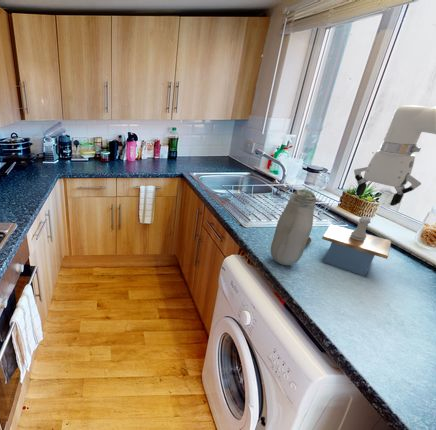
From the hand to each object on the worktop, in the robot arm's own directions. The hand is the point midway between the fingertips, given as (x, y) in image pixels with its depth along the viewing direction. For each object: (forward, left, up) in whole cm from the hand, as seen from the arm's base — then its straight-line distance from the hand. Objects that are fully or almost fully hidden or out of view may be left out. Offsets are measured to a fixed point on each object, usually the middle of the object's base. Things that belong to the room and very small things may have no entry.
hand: (375, 199), depth 96 cm
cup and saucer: (+19, +3, -25) cm, 32 cm away
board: (0, 0, -16) cm, 16 cm away
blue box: (0, 0, -25) cm, 25 cm away
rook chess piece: (0, 0, -15) cm, 15 cm away
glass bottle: (+10, +22, -25) cm, 35 cm away
